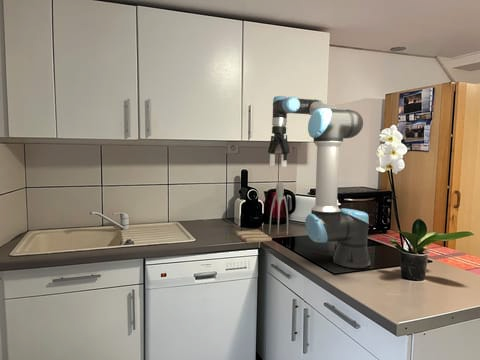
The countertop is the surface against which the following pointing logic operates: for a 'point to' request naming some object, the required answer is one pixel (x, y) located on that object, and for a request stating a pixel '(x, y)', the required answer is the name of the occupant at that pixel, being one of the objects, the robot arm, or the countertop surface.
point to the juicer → (279, 203)
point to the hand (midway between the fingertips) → (277, 166)
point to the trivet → (253, 236)
